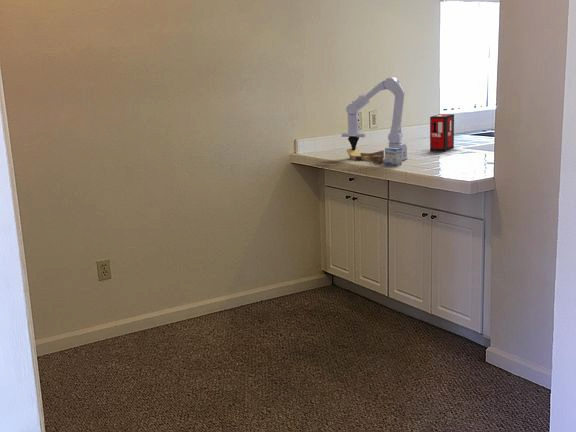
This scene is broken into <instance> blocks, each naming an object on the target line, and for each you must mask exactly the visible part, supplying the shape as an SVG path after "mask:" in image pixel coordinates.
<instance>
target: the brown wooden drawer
mask: <svg viewBox="0 0 576 432" xmlns="http://www.w3.org/2000/svg"><path fill="white" fill-rule="evenodd" d="M360 153H361V155H362V156H351V155H350V156H349V160H350V161H357V162H358V161H364V162H365V161H366V162H373V156H375V155H377V156H382V158H383V159H385V149H384V150H380V151H379V150H378V151H374V152H360Z"/></svg>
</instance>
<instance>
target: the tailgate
mask: <svg viewBox="0 0 576 432" xmlns="http://www.w3.org/2000/svg"><path fill="white" fill-rule="evenodd" d="M346 153H347V154H348V156H349V157H350V155H351V156H362V155H361V153H362V152H361V151H360V149H359V148H358V146H356V149H355V150H352V148H348V149H346Z"/></svg>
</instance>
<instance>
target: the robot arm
mask: <svg viewBox="0 0 576 432" xmlns="http://www.w3.org/2000/svg"><path fill="white" fill-rule="evenodd" d="M385 90H388V91H389V92H391V93H392V94H393V95H394V103H393V111H392V112H393V113H392V119H391V121H392V123H391V128H390V132H389V134H388V135H387V139H388V148H401V149H402V161H404V160H407V159H408V147H407V146H408V145H407V144H405V143H403V141H402V139H403V132H402V119H403V109H404V101H405V90H404V88H403V87H402V84H401V82H400V80H399V79H398V78H397V77H395V76H392V77H388V78H385V80H382V81H380V82H379V83H378V84H376V85H375V86H374V87H373V88H372V89H371V90H369V91H368V92H367V93H366V94H364V93H363V94H359V95H358V97H357V98H356V99H354V100H352V101H351V103H349V104H348V105H347V106H346V108H345V111H346V113H347V132H342V133H341V137H342V138H347V141H348V142H349V143H350V146H351V149H352V150H355V149H356V147H357V144H358V141H359V140H360V138H365V137H366V133H361V132H359V116H358V112H359V111H360V110H362V109H363V108H364V107H365V106H367V105H368V104H370V103H369V102H370V99H371V98H373V97H374V96H376V95H377V94H378V93H380V92H381V91H385Z"/></svg>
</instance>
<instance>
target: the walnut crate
mask: <svg viewBox="0 0 576 432" xmlns="http://www.w3.org/2000/svg"><path fill="white" fill-rule="evenodd" d="M383 159H384V158H382V156H377V155H375V156H373V161H372V163H376V165H382V164H383V162H384V161H383Z"/></svg>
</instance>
